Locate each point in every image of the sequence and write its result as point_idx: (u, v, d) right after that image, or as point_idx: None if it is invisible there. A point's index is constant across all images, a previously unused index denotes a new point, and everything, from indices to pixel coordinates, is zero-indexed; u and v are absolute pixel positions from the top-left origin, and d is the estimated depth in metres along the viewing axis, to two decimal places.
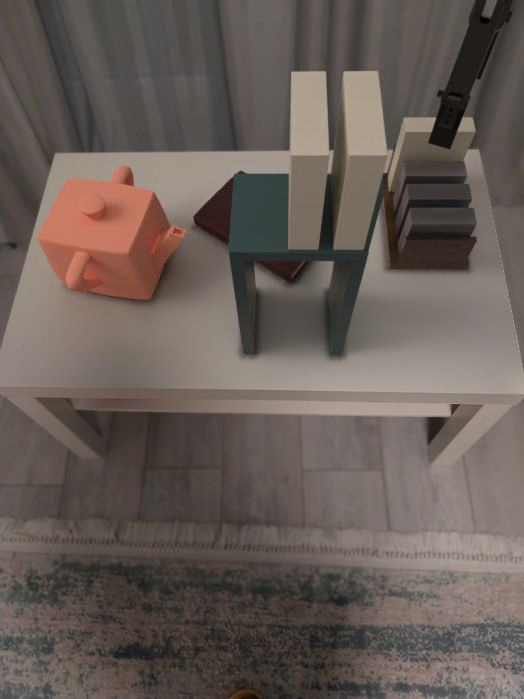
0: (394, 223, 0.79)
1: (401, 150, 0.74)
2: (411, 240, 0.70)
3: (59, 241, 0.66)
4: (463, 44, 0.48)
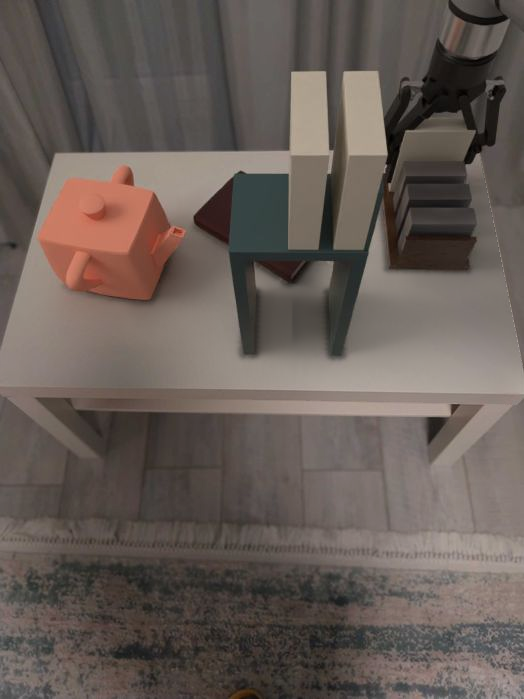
0: (394, 223, 0.79)
1: (401, 150, 0.74)
2: (411, 240, 0.70)
3: (59, 241, 0.66)
4: (391, 105, 0.70)
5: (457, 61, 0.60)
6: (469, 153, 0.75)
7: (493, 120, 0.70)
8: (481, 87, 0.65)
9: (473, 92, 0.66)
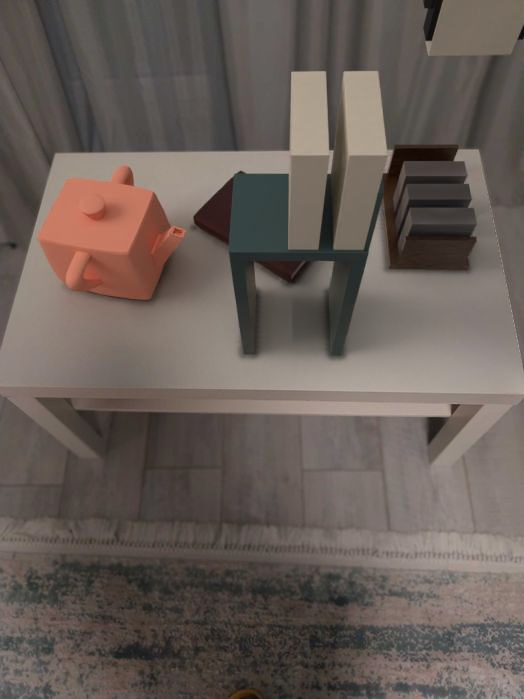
0: (394, 223, 0.79)
1: None
2: (411, 240, 0.70)
3: (59, 241, 0.66)
4: None
5: None
6: None
7: None
8: None
9: None
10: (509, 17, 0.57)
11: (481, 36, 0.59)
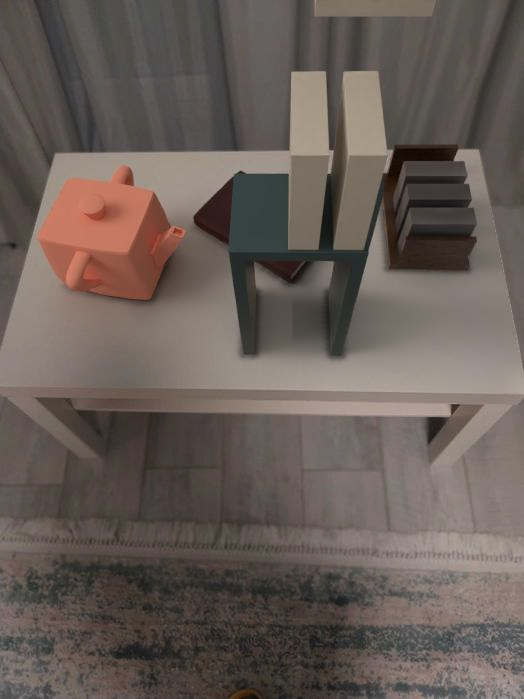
0: (394, 223, 0.79)
1: None
2: (411, 240, 0.70)
3: (59, 241, 0.66)
4: None
5: None
6: None
7: None
8: None
9: None
10: None
11: None
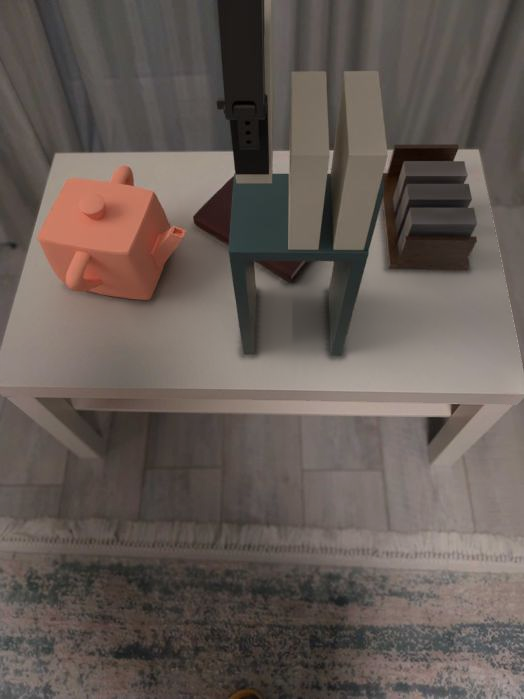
0: (394, 223, 0.79)
1: None
2: (411, 240, 0.70)
3: (59, 241, 0.66)
4: None
5: None
6: None
7: None
8: None
9: None
10: None
11: None
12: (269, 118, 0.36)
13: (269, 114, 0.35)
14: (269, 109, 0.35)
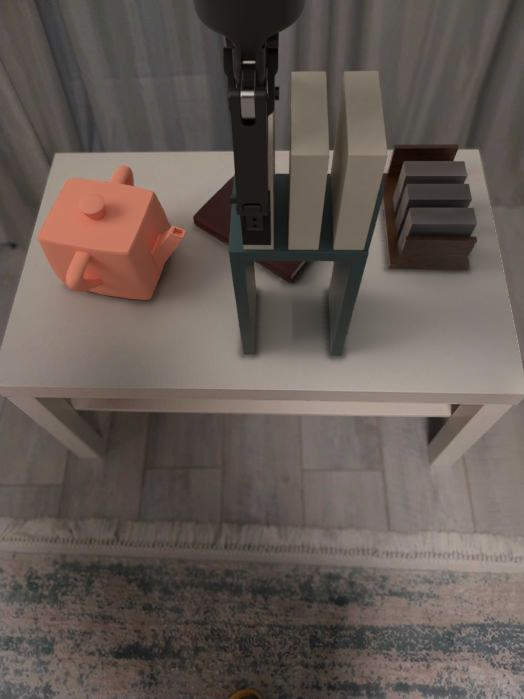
0: (394, 223, 0.79)
1: None
2: (411, 240, 0.70)
3: (59, 241, 0.66)
4: None
5: None
6: None
7: None
8: (232, 61, 0.34)
9: None
10: None
11: None
12: (271, 205, 0.44)
13: (271, 202, 0.43)
14: (271, 199, 0.43)
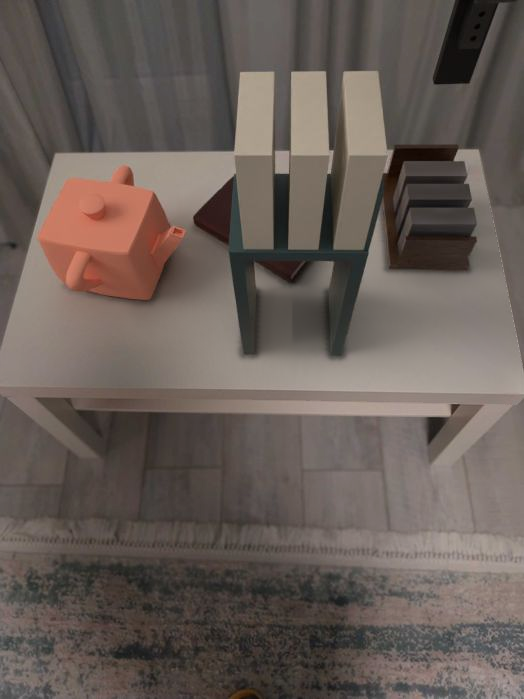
0: (394, 223, 0.79)
1: None
2: (411, 240, 0.70)
3: (59, 241, 0.66)
4: None
5: None
6: None
7: None
8: None
9: None
10: None
11: None
12: (271, 205, 0.44)
13: (271, 202, 0.43)
14: (271, 199, 0.43)
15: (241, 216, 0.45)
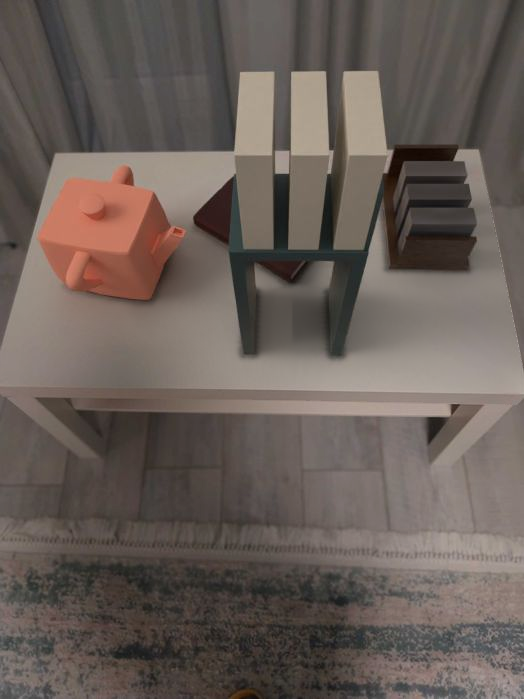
0: (394, 223, 0.79)
1: None
2: (411, 240, 0.70)
3: (59, 241, 0.66)
4: None
5: None
6: None
7: None
8: None
9: None
10: None
11: None
12: (271, 205, 0.44)
13: (271, 202, 0.43)
14: (271, 199, 0.43)
15: (241, 216, 0.45)
